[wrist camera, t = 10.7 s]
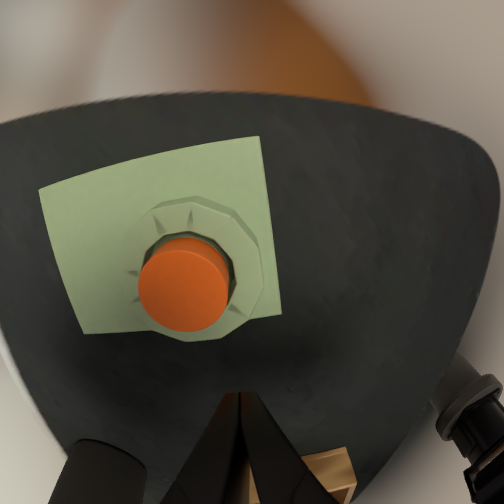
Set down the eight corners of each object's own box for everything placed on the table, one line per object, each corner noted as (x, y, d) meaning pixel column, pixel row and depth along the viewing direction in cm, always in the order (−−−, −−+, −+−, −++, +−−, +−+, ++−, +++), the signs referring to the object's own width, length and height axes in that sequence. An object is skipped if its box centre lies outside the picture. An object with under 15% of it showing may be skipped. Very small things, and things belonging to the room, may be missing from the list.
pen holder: (83, 425, 20) (52, 504, 11) (164, 467, 23) (153, 545, 13) (65, 449, 22) (41, 510, 13) (131, 484, 25) (119, 545, 15)
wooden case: (345, 446, 23) (357, 482, 18) (334, 495, 28) (341, 521, 23) (230, 464, 23) (231, 503, 18) (252, 508, 28) (254, 535, 23)
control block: (256, 137, 14) (262, 132, 10) (278, 299, 17) (287, 333, 13) (54, 185, 14) (18, 195, 10) (94, 320, 17) (71, 351, 13)
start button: (221, 230, 12) (218, 242, 10) (235, 306, 13) (235, 327, 11) (140, 243, 12) (126, 257, 10) (160, 315, 13) (151, 336, 11)
